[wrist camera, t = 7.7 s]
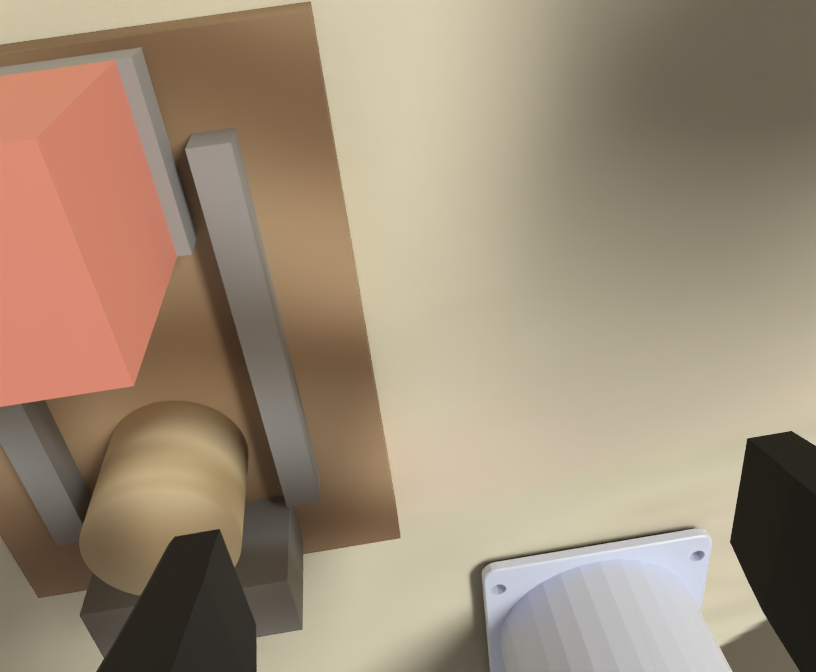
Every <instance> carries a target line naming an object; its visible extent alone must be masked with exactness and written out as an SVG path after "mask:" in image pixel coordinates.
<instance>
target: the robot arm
mask: <svg viewBox="0 0 816 672" xmlns="http://www.w3.org/2000/svg"><path fill="white" fill-rule="evenodd" d="M730 543H731V545H732V547H733V549H734V552H735V554H736V556H737V558H738V560H739V563H740V565H741V567H742V569H743V571H744V573H745V576H746V578H747V580H748V582H749V584H750V586H751V588H752V590H753V592H754V594H755V596H756V598H757V600H758V602H759V605H760V607H761V609H762V611H763V612H764V614H765V616H766V617H767V619H768V621H769V622H770V624H771V626H772V627H773V629H774V631H775V632H776V634H777V635H778V637H779V639H780V640H781V642H782V643H783V645H784V647H785V648H786V650H787V651H788V653H789V655H790V656H791V658H792V659H793V661H794V663H795V664H796V666H797V667H798V669H799V671H800V672H816V446H815V445H813V444H812V443H810V442H808V441H807V440H805V439H804V438H802V437H800V436H799V435H797V434H795V433H794V432H792V431H789V432H783V433H777V434H771V435H766V436H760V437H754V438H748V439H747V444H746V450H745V456H744V462H743V468H742V474H741V480H740V486H739V492H738V498H737V504H736V510H735V516H734V522H733V528H732V534H731V540H730ZM711 548H712V539H711V537H710V535H709V534H708V532H707V531H706V530H704V529H701V528H695V529H689V530H683V531H677V532H671V533H665V534H659V535H653V536H647V537H641V538H635V539H629V540H623V541H617V542H611V543H606V544H600V545H594V546H588V547H582V548H576V549H570V550H564V551H558V552H552V553H546V554H540V555H534V556H528V557H522V558H516V559H510V560H504V561H498V562H493V563H490V564H488V565H487V566H485V568H484V569H483V570H482V586H483V598H484V609H485V621H486V633H487V644H488V656H489V668H490V672H732V670H731V668H730V667H729V665H728V663H727V661H726V659H725V657H724V655H723V653H722V651H721V649H720V647H719V645H718V644H717V642H716V640H715V638H714V636H713V634H712V632H711V630H710V628H709V626H708V625H707V623H706V621H705V619H704V617H703V615H702V613H701V606H702V600H703V594H704V588H705V583H706V577H707V571H708V565H709V559H710V553H711ZM256 667H257V665H256V623H255V620H254V618H253V615H252V612H251V610H250V607H249V605H248V602H247V599H246V597H245V594H244V591H243V589H242V586H241V583H240V581H239V578H238V576H237V573H236V570H235V568H234V565H233V562H232V560H231V557H230V554H229V552H228V549H227V547H226V544H225V541H224V539H223V536H222V533H221V531H220V529H216V530H210V531H205V532H199V533H193V534H187V535H181V536H175V537H174V538H173V539H172V540H171V542H170V543H169V544H168V546H167V548H166V550H165V551H164V553H163V555H162V557H161V559H160V561H159V563H158V564H157V566H156V568H155V570H154V572H153V574H152V576H151V577H150V579H149V581H148V583H147V585H146V587H145V588H144V590H143V592H142V594H141V596H140V597H139V599H138V601H137V603H136V605H135V606H134V608H133V610H132V612H131V613H130V615H129V617H128V619H127V621H126V622H125V624H124V626H123V628H122V629H121V631H120V633H119V635H118V636H117V638H116V640H115V641H114V643H113V645H112V647H111V648H110V650H109V652H108V653H107V655H106V657H105V658H104V660H103V662H102V663H101V665H100V667H99V668H98V670H97V672H256Z"/></svg>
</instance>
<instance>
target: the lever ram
mask: <svg viewBox="0 0 816 672" xmlns="http://www.w3.org/2000/svg"><path fill="white" fill-rule="evenodd" d="M196 239H197V234H196V231H195V227H194V224H193V221H192V217H191V214H190V210H189V207H188V204H187V200H186V197H185V194H184V190H183V187H182V183H181V180H180V177H179V173H178V170H177V166H176V163H175V160H174V156H173V153H172V150H171V146H170V143H169V139H168V136H167V133H166V129H165V126H164V123H163V119H162V116H161V112H160V109H159V106H158V102H157V99H156V95H155V92H154V89H153V85H152V82H151V79H150V75H149V72H148V68H147V65H146V62H145V58H144V55H143V51H142V48H141V47H140V48H133V49H126V50H118V51H111V52H104V53H97V54H90V55H83V56H76V57H69V58H62V59H54V60H47V61H40V62H33V63H26V64H19V65H12V66H5V67H0V407H3V406H9V405H16V404H22V403H29V402H35V401H41V400H48V399H54V398H61V397H67V396H73V395H80V394H86V393H93V392H99V391H105V390H112V389H118V388H125V387H131V386H134V384H135V381H136V378H137V375H138V372H139V369H140V366H141V363H142V360H143V357H144V354H145V351H146V348H147V346H148V343H149V340H150V337H151V334H152V331H153V328H154V325H155V322H156V319H157V316H158V313H159V310H160V307H161V304H162V301H163V298H164V295H165V292H166V289H167V286H168V283H169V280H170V277H171V275H172V272H173V269H174V266H175V263H176V260H177V257H179V256H185V255H192V252H193V249H194V245H195V242H196Z"/></svg>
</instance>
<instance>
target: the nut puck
mask: <svg viewBox="0 0 816 672" xmlns="http://www.w3.org/2000/svg"><path fill="white" fill-rule="evenodd" d="M248 459H249V451H248V445H247V442H246V439H245V437H244V435H243V433H242V432H241V430H240V429H239V428H238V426H237V425H236V424H235V423H234V422H233V421H232V420H231V419H230V418H228V417H227V416H225V415H224V414H222V413H221V412H219V411H217V410H215V409H213V408H210V407H208V406H205V405H202V404H198V403H193V402H187V401H165V402H158V403H153V404H150V405H147V406H144V407H141V408H139V409H137V410H135V411H133V412H132V413H130V414H129V415H127V416H126V417H125V418H124V419H123V420H122V421H121V422H120V423H119V424H118V425H117V427H116V428H115V430H114V432H113V434H112V436H111V439H110V442H109V445H108V448H107V452H106V455H105V458H104V461H103V464H102V467H101V470H100V473H99V476H98V479H97V483H96V486H95V489H94V492H93V495H92V498H91V501H90V504H89V507H88V511H87V514H86V517H85V520H84V523H83V526H82V529H81V532H80V538H79V548H80V552H81V555H82V558H83V560H84V562H85V563H86V565H87V566H88V568H89V569H90V570H91V571H92V572H93V573H94V574H95V575H96V576H97V577H98V578H100V579H101V580H102V581H104V582H105V583H107V584H109V585H110V586H112V587H114V588H116V589H119V590H121V591H124V592H127V593H131V594H134V595H139V596H141V594H142V592H143V590H144V588H145V587H146V585H147V583H148V581H149V579H150V577H151V576H152V574H153V572H154V570H155V568H156V566H157V564H158V563H159V561H160V559H161V557H162V555H163V553H164V551H165V550H166V548H167V546H168V544H169V543H170V542H171V540H172V539H173V538H174V537H175V536H181V535H187V534H193V533H199V532H205V531H210V530H216V529H220V531H221V533H222V536H223V539H224V541H225V544H226V547H227V549H228V552H229V554H230V557H231V560H232V562H233V565H234V567H235V566H236V564H237V562H238V560H239V557H240V554H241V547H242V535H243V522H244V510H245V497H246V484H247V472H248Z"/></svg>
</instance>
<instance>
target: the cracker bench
mask: <svg viewBox="0 0 816 672" xmlns="http://www.w3.org/2000/svg"><path fill="white" fill-rule="evenodd" d="M140 47H141V48H142V51H143V55H144V58H145V62H146V65H147V68H148V72H149V75H150V79H151V82H152V85H153V89H154V92H155V95H156V99H157V102H158V106H159V109H160V112H161V116H162V119H163V123H164V126H165V129H166V133H167V136H168V139H169V143H170V146H171V150H172V153H173V156H174V160H175V163H176V166H177V170H178V173H179V177H180V180H181V183H182V187H183V190H184V194H185V197H186V200H187V204H188V207H189V210H190V214H191V217H192V221H193V224H194V227H195V231H196V234H197V239H196V242H195V245H194V249H193V252H192V255H185V256H179V257H177V260H176V263H175V266H174V269H173V272H172V275H171V277H170V280H169V283H168V286H167V289H166V292H165V295H164V298H163V301H162V304H161V307H160V310H159V313H158V316H157V319H156V322H155V325H154V328H153V331H152V334H151V337H150V340H149V343H148V346H147V348H146V351H145V354H144V357H143V360H142V363H141V366H140V369H139V372H138V375H137V378H136V381H135V384H134V386H131V387H125V388H118V389H112V390H105V391H99V392H93V393H86V394H80V395H73V396H67V397H61V398H54V399H48V400H41V401H35V402H29V403H22V404H16V405H9V406H3V407H0V535H1V537H2V539H3V540H4V542H5V544H6V545H7V547H8V549H9V550H10V552H11V553H12V555H13V557H14V558H15V560H16V562H17V563H18V565H19V567H20V568H21V570H22V572H23V573H24V575H25V577H26V578H27V580H28V582H29V583H30V585H31V586H32V588H33V590H34V591H35V593H36V595H37V596H38V598H41V597H47V596H53V595H60V594H66V593H72V592H78V591H84V590H87V593H86V596H85V599H84V603H83V606H82V609H81V613H80V617H81V619H82V620H83V622H84V624H85V626H86V627H87V629H88V631H89V633H90V634H91V636H92V638H93V640H94V641H95V643H96V645H97V647H98V648H99V650H100V652H101V654H102V655H103V657H104V658H105V657H106V655H107V653H108V652H109V650H110V648H111V647H112V645H113V643H114V641H115V640H116V638H117V636H118V635H119V633H120V631H121V629H122V628H123V626H124V624H125V622H126V621H127V619H128V617H129V615H130V613H131V612H132V610H133V608H134V606H135V605H136V603H137V601H138V599H139V597H140V596H139V595H134V594H131V593H127V592H124V591H121V590H119V589H116V588H114V587H112V586H110V585H109V584H107V583H105V582H104V581H102V580H101V579H100V578H98V577H97V576H96V575H95V574H94V573H93V572H92V571H91V570H90V569H89V568H88V566H87V565H86V563H85V562H84V560H83V558H82V555H81V552H80V548H79V538H80V532H81V529H82V526H83V523H84V520H85V517H86V514H87V511H88V507H89V504H90V501H91V498H92V495H93V492H94V489H95V486H96V483H97V479H98V476H99V473H100V470H101V467H102V464H103V461H104V458H105V455H106V452H107V448H108V445H109V442H110V439H111V436H112V434H113V432H114V430H115V428H116V427H117V425H118V424H119V423H120V422H121V421H122V420H123V419H124V418H125V417H126V416H127V415H129V414H130V413H132V412H133V411H135V410H137V409H139V408H141V407H144V406H147V405H150V404H153V403H158V402H165V401H187V402H193V403H198V404H202V405H205V406H208V407H210V408H213V409H215V410H217V411H219V412H221V413H222V414H224V415H225V416H227V417H228V418H230V419H231V420H232V421H233V422H234V423H235V424H236V425H237V426H238V428H239V429H240V430H241V432H242V433H243V435H244V437H245V439H246V442H247V445H248V451H249V459H248V472H247V484H246V497H245V510H244V522H243V535H242V547H241V554H240V557H239V560H238V562H237V564H236V566H235V567H234V568H235V570H236V573H237V576H238V578H239V581H240V583H241V586H242V589H243V591H244V594H245V597H246V599H247V602H248V605H249V607H250V610H251V612H252V615H253V618H254V620H255V623H256V637H261V636H267V635H273V634H278V633H284V632H290V631H296V630H302V623H303V554H307V553H313V552H319V551H325V550H331V549H337V548H343V547H349V546H355V545H361V544H367V543H373V542H380V541H386V540H392V539H398V538H401V537H400V530H399V523H398V515H397V508H396V502H395V496H394V491H393V485H392V479H391V473H390V467H389V461H388V455H387V449H386V443H385V437H384V432H383V426H382V420H381V414H380V408H379V402H378V396H377V390H376V384H375V379H374V373H373V367H372V361H371V355H370V349H369V343H368V337H367V331H366V325H365V320H364V314H363V308H362V302H361V296H360V290H359V284H358V278H357V272H356V267H355V261H354V255H353V249H352V243H351V237H350V231H349V225H348V219H347V213H346V208H345V202H344V196H343V190H342V184H341V178H340V172H339V166H338V160H337V155H336V149H335V143H334V137H333V131H332V125H331V119H330V113H329V107H328V101H327V96H326V90H325V84H324V78H323V72H322V66H321V60H320V54H319V48H318V43H317V37H316V31H315V25H314V19H313V13H312V7H311V2H304V3H296V4H289V5H282V6H275V7H268V8H261V9H253V10H246V11H239V12H232V13H225V14H218V15H211V16H203V17H196V18H189V19H182V20H175V21H168V22H160V23H153V24H146V25H139V26H132V27H125V28H117V29H110V30H103V31H96V32H89V33H82V34H74V35H67V36H60V37H53V38H46V39H39V40H31V41H24V42H17V43H10V44H3V45H0V67H5V66H12V65H19V64H26V63H33V62H40V61H47V60H54V59H62V58H69V57H76V56H83V55H90V54H97V53H104V52H111V51H118V50H126V49H133V48H140Z"/></svg>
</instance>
